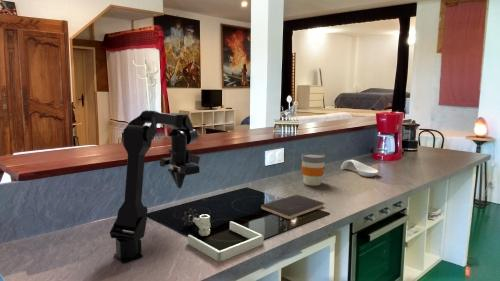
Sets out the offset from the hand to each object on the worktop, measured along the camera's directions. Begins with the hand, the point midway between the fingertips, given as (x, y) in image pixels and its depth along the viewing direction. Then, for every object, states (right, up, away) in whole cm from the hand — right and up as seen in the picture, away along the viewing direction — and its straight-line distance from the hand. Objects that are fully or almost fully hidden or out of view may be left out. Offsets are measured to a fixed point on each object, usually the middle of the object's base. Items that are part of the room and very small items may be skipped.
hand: (179, 187), depth 142 cm
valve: (+8, -15, -7) cm, 18 cm away
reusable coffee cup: (+59, -5, +56) cm, 82 cm away
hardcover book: (+45, -12, +19) cm, 50 cm away
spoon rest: (+90, -2, +79) cm, 120 cm away
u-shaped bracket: (+19, -16, -17) cm, 30 cm away
